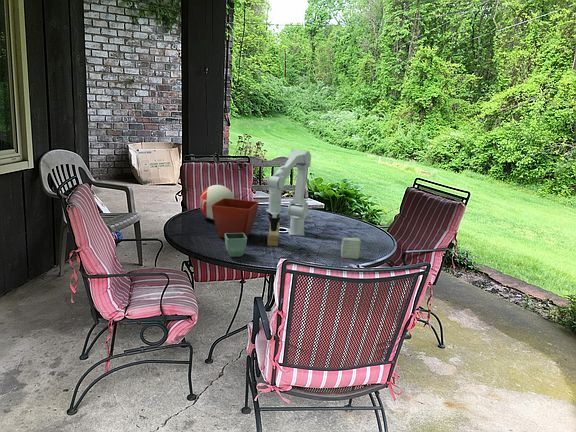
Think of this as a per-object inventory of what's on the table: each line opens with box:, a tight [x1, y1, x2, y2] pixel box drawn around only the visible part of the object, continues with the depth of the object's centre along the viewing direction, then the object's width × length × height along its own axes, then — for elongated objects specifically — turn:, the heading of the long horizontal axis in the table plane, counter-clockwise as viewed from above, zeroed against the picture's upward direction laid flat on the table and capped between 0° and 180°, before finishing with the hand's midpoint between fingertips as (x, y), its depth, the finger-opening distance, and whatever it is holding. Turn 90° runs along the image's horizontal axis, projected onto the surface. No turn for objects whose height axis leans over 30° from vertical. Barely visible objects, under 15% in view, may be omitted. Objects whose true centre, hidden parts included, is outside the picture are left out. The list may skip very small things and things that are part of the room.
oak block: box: [268, 221, 281, 236], centre depth 225 cm, size 4×4×6 cm
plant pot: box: [212, 198, 259, 239], centre depth 235 cm, size 19×19×17 cm
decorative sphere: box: [198, 184, 236, 221], centre depth 264 cm, size 20×20×20 cm
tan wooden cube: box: [267, 232, 280, 247], centre depth 226 cm, size 5×5×5 cm
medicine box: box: [340, 237, 362, 260], centre depth 214 cm, size 8×4×9 cm, turn 92°
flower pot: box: [224, 233, 248, 258], centre depth 206 cm, size 9×9×9 cm
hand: (273, 229), depth 225 cm, fingers open, 7 cm apart
